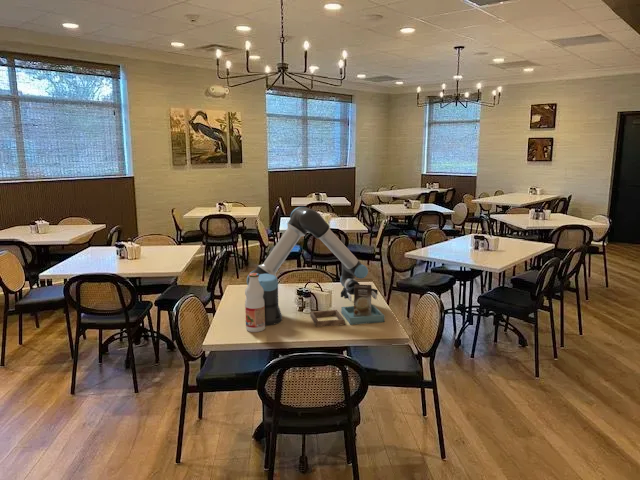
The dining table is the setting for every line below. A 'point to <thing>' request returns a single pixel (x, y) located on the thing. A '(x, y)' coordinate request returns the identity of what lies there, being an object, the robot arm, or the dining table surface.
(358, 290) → the coffee box
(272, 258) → the robot arm
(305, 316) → the dining table surface
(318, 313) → the walnut frame
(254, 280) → the fruit juice
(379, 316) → the teal tray
